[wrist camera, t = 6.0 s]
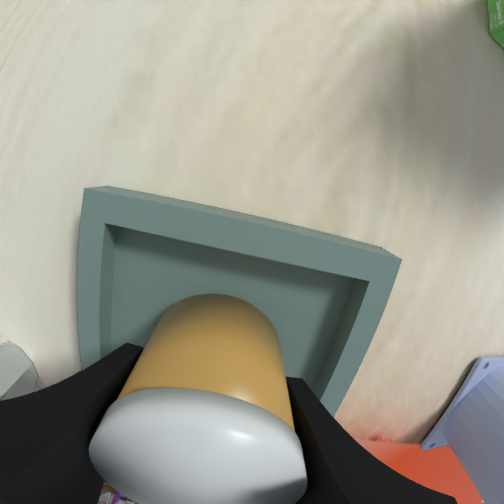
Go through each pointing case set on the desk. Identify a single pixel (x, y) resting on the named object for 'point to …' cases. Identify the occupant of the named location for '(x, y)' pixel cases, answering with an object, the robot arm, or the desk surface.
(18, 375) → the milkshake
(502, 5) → the ink box
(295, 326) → the tray
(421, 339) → the desk surface
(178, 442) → the pill bottle
